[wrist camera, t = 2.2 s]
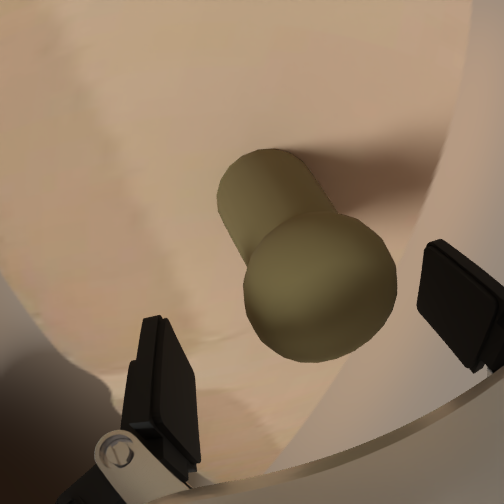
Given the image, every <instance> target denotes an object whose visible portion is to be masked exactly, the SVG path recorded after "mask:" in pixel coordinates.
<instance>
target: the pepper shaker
mask: <svg viewBox="0 0 504 504" xmlns="http://www.w3.org/2000/svg"><path fill="white" fill-rule="evenodd" d="M217 205H218V212H219V214H220V216H221V218H222V221H223V223H224V225H225V227H226V229H227V230H228V232H229V234H230V236H231V238H232V240H233V242H234V244H235V245H236V247H237V249H238V251H239V253H240V255H241V257H242V258H243V260H244V262H245V264H246V266H247V271H246V274H245V278H244V283H243V290H244V303H245V309H246V315H247V317H248V319H249V321H250V323H251V325H252V326H253V328H254V330H255V332H256V334H257V335H258V337H259V338H260V340H261V341H262V342H263V343H264V344H265V345H267V346H268V347H269V348H271V349H272V350H273V351H275V352H276V353H278V354H279V355H281V356H283V357H284V358H287V359H291V360H294V361H297V362H305V363H319V362H324V361H328V360H333V359H337V358H339V357H342V356H344V355H346V354H348V353H351V352H353V351H355V350H356V349H357V348H359V347H361V346H362V345H363V344H365V343H366V342H368V341H369V340H370V339H371V338H372V337H373V336H374V335H375V334H376V333H377V332H378V331H379V330H380V329H381V328H382V327H383V326H384V324H385V322H386V321H387V319H388V317H389V316H390V314H391V312H392V310H393V307H394V303H395V300H396V296H397V275H396V265H395V263H394V261H393V259H392V257H391V255H390V253H389V251H388V249H387V247H386V245H385V243H384V242H383V240H382V238H381V237H379V236H378V235H377V234H376V233H375V232H374V231H373V230H371V229H370V228H369V227H367V226H366V225H365V224H363V223H362V222H361V221H359V220H358V219H356V218H352V217H349V216H346V215H342V214H338V213H337V211H336V209H335V208H334V206H333V205H332V203H331V202H330V200H329V199H328V197H327V196H326V194H325V193H324V191H323V190H322V188H321V187H320V185H319V184H318V182H317V181H316V179H315V178H314V177H313V175H312V174H311V172H310V171H309V170H308V168H307V167H306V165H305V164H304V163H303V162H302V161H301V160H300V159H298V158H297V157H295V156H294V155H292V154H291V153H288V152H284V151H281V150H277V149H263V150H256V151H254V152H251V153H249V154H246V155H243V156H242V157H240V158H239V159H238V160H237V161H236V162H234V163H233V164H232V165H231V166H229V168H228V169H227V171H226V173H225V174H224V176H223V177H222V179H221V180H220V184H219V188H218V192H217Z"/></svg>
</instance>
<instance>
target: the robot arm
mask: <svg viewBox="0 0 504 504" xmlns="http://www.w3.org/2000/svg"><path fill="white" fill-rule="evenodd" d="M417 309H418V311H419V313H420V314H421V315H422V316H423V317H424V319H425V320H426V321H427V322H428V323H429V324H430V325H431V327H432V328H433V329H434V330H435V331H436V332H437V333H438V334H439V336H440V337H441V338H442V339H443V341H445V343H446V344H447V345H448V346H449V348H450V349H451V350H452V351H453V353H454V354H455V355H456V356H457V357H458V358H459V360H460V361H461V362H462V364H463V365H464V366H465V367H466V368H470V370H471V371H472V372H473V373H475V372H477V371H479V370H480V369H482V368H483V366H484V364H486V365H487V367H488V368H487V369H488V370H487V378H486V379H485V380H483V381H482V382H480V383H479V384H477V385H476V386H474V387H472V388H471V389H469V390H468V391H466V392H465V393H463V394H461V395H460V396H458V397H456V398H455V399H453V400H451V401H450V402H448V403H446V404H445V405H443V406H441V407H439V408H438V409H436V410H434V411H432V412H430V413H429V414H427V415H425V416H423V417H421V418H419V419H417V420H415V421H413V422H411V423H409V424H407V425H405V426H403V427H401V428H399V429H396V430H394V431H392V432H390V433H388V434H385V435H383V436H381V437H378V438H376V439H374V440H371V441H369V442H366V443H364V444H361V445H359V446H356V447H353V448H351V449H348V450H346V451H343V452H340V453H337V454H334V455H332V456H328V457H325V458H322V459H319V460H316V461H313V462H309V463H306V464H302V465H299V466H295V467H291V468H288V469H284V470H280V471H276V472H272V473H268V474H264V475H259V476H255V477H250V478H245V479H240V480H235V481H229V482H224V483H219V484H214V485H209V486H202V487H197V488H192V487H191V486H190V485H189V484H188V483H187V482H186V481H187V480H188V473H189V472H197V467H196V463H200V462H201V453H200V442H199V430H198V416H197V401H196V384H195V375H194V372H193V369H192V367H191V365H190V363H189V361H188V359H187V357H186V355H185V353H184V351H183V349H182V347H181V345H180V343H179V341H178V339H177V337H176V335H175V333H174V331H173V328H172V326H171V324H170V322H169V320H168V319H167V318H164V319H163V318H162V317H161V315H157V316H153V317H148V318H144V319H143V322H142V327H141V333H140V339H139V345H138V352H137V358H136V360H133V361H131V362H130V365H129V369H128V375H127V382H126V389H125V396H124V403H123V411H122V420H121V429H120V430H115V431H111V432H109V433H107V434H106V435H104V436H103V437H102V438H101V439H100V440H99V442H98V444H97V445H96V448H95V453H94V454H95V461H96V464H95V465H94V466H93V467H92V468H91V469H90V470H89V471H87V472H86V473H85V474H84V475H83V476H82V477H81V478H79V479H78V480H77V481H76V482H75V483H74V484H73V485H71V486H70V487H69V488H68V489H67V490H66V491H64V492H63V493H62V494H61V495H60V496H59V498H58V499H57V501H56V503H55V504H504V287H503V286H502V285H501V284H500V283H499V282H497V281H496V280H495V279H494V278H493V277H491V276H490V275H489V274H488V273H486V272H485V271H484V270H482V269H481V268H480V267H479V266H478V265H476V264H475V263H474V262H472V261H471V260H469V258H467V257H466V256H464V255H463V254H462V253H461V252H459V251H458V250H457V249H455V248H454V247H452V246H451V245H450V244H448V243H447V242H446V241H444V240H442V239H438V240H435V241H432V242H429V243H428V244H427V246H426V248H425V249H424V256H423V264H422V271H421V279H420V286H419V292H418V298H417Z"/></svg>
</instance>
